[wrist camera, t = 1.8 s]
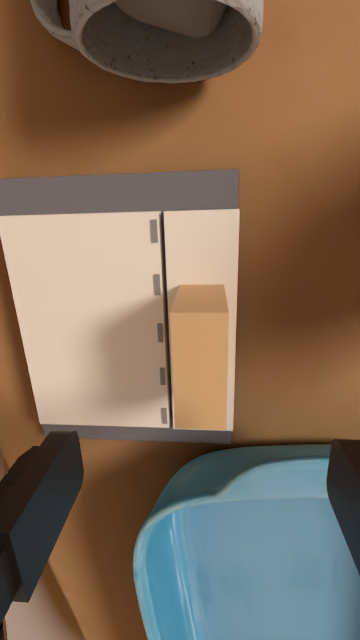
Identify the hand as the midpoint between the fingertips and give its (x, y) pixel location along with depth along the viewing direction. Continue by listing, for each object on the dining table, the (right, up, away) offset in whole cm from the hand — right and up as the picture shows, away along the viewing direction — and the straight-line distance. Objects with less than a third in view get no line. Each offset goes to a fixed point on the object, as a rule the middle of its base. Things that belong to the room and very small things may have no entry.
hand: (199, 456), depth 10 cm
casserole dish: (+9, -18, +19) cm, 27 cm away
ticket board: (-4, +4, +12) cm, 13 cm away
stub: (+1, +4, +10) cm, 11 cm away
